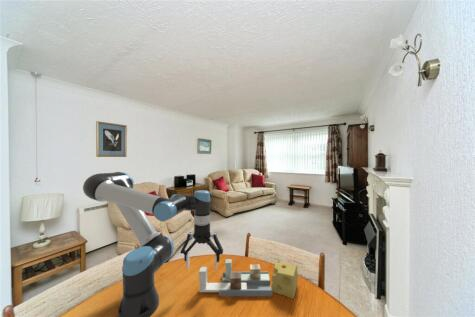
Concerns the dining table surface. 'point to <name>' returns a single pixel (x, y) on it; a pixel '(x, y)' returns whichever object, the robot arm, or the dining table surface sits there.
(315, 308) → the dining table surface
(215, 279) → the dining table surface
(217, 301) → the dining table surface
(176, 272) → the dining table surface
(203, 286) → the strip front
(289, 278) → the cheese
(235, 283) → the walnut block
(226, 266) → the strip rear
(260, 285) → the lane board
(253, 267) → the maple block
